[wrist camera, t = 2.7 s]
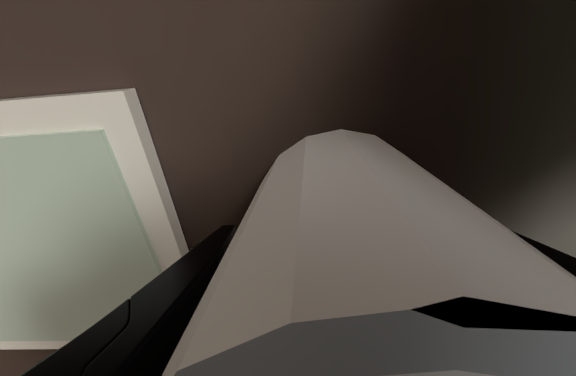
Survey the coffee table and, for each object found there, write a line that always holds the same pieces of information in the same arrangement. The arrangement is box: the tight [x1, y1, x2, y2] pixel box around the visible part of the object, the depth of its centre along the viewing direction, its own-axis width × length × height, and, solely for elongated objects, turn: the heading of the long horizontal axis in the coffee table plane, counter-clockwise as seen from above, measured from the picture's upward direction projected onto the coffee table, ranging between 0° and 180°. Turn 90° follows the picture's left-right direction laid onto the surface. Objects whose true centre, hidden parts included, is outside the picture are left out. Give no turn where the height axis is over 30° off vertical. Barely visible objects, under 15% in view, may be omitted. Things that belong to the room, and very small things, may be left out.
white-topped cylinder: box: [162, 129, 576, 376], centre depth 7 cm, size 7×7×7 cm
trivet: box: [0, 88, 189, 349], centre depth 11 cm, size 12×12×1 cm
